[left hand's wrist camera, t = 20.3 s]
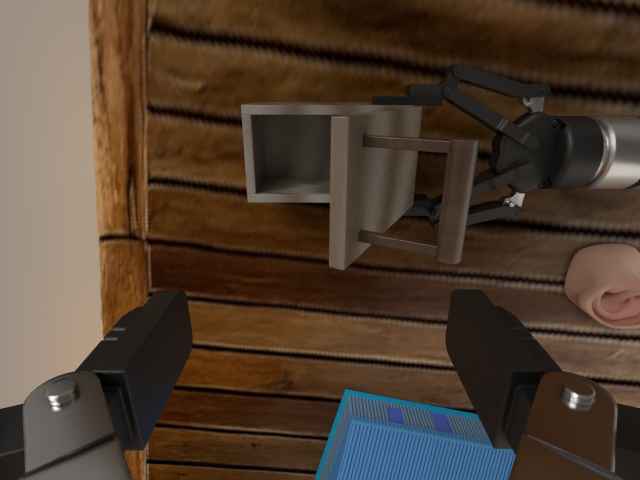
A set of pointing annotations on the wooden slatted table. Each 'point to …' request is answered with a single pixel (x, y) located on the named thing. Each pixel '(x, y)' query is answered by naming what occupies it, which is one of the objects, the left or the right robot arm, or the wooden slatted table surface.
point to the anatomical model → (606, 284)
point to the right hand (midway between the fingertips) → (371, 153)
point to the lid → (392, 184)
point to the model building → (408, 443)
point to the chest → (292, 148)
